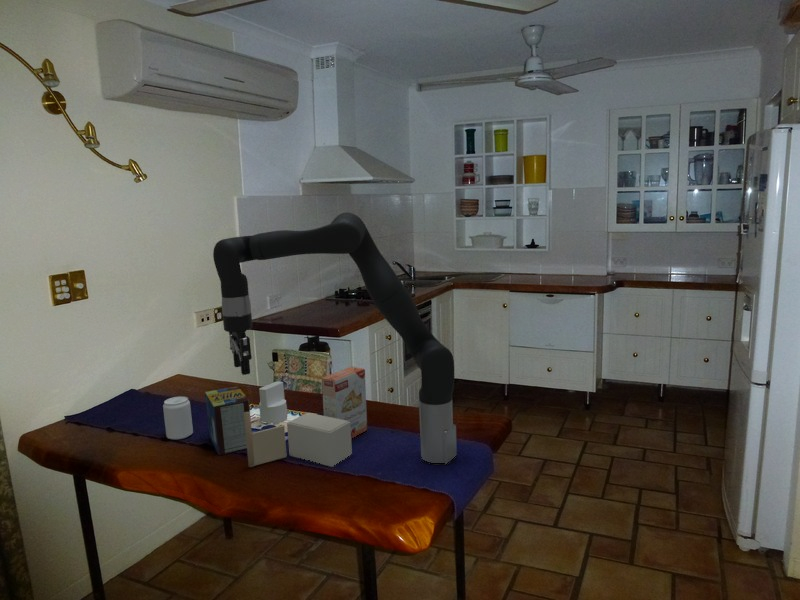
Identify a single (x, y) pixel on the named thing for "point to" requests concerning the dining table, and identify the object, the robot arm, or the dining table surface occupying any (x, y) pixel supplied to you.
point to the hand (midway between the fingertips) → (242, 370)
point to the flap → (264, 443)
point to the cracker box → (346, 398)
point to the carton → (319, 439)
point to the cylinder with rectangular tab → (273, 403)
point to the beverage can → (177, 418)
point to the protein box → (227, 419)
